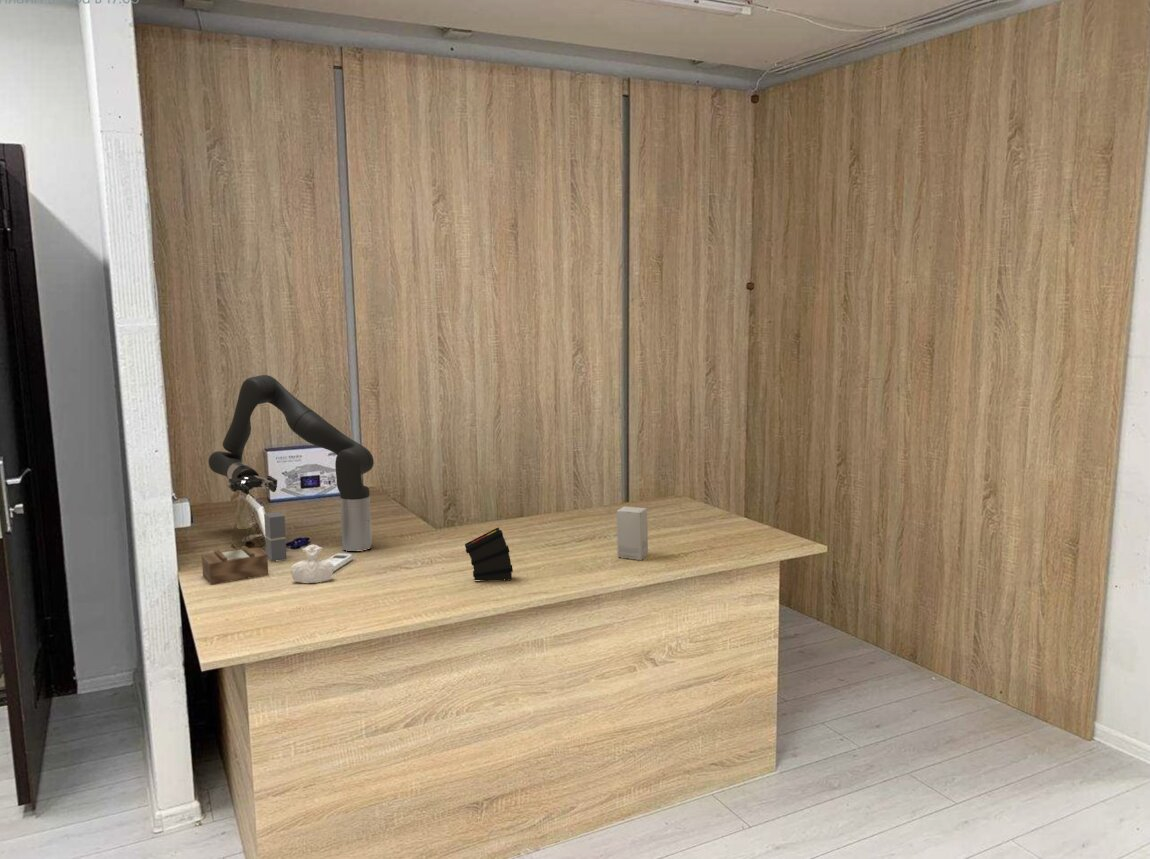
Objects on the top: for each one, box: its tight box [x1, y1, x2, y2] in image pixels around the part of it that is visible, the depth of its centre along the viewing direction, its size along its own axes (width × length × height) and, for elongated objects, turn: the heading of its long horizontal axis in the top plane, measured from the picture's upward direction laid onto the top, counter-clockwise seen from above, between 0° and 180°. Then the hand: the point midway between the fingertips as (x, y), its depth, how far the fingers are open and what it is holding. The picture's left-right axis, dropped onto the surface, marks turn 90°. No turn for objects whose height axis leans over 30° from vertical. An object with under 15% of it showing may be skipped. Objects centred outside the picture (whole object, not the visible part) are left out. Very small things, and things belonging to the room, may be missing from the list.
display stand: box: [201, 545, 269, 585], centre depth 258 cm, size 16×10×7 cm, turn 125°
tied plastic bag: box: [290, 544, 335, 584], centre depth 253 cm, size 12×8×11 cm
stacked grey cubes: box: [263, 511, 287, 562], centre depth 274 cm, size 6×5×14 cm
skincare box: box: [616, 505, 649, 561], centre depth 275 cm, size 8×7×16 cm
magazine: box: [464, 527, 514, 581], centre depth 253 cm, size 4×13×15 cm, turn 98°
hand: (261, 490), depth 280 cm, fingers open, 8 cm apart
